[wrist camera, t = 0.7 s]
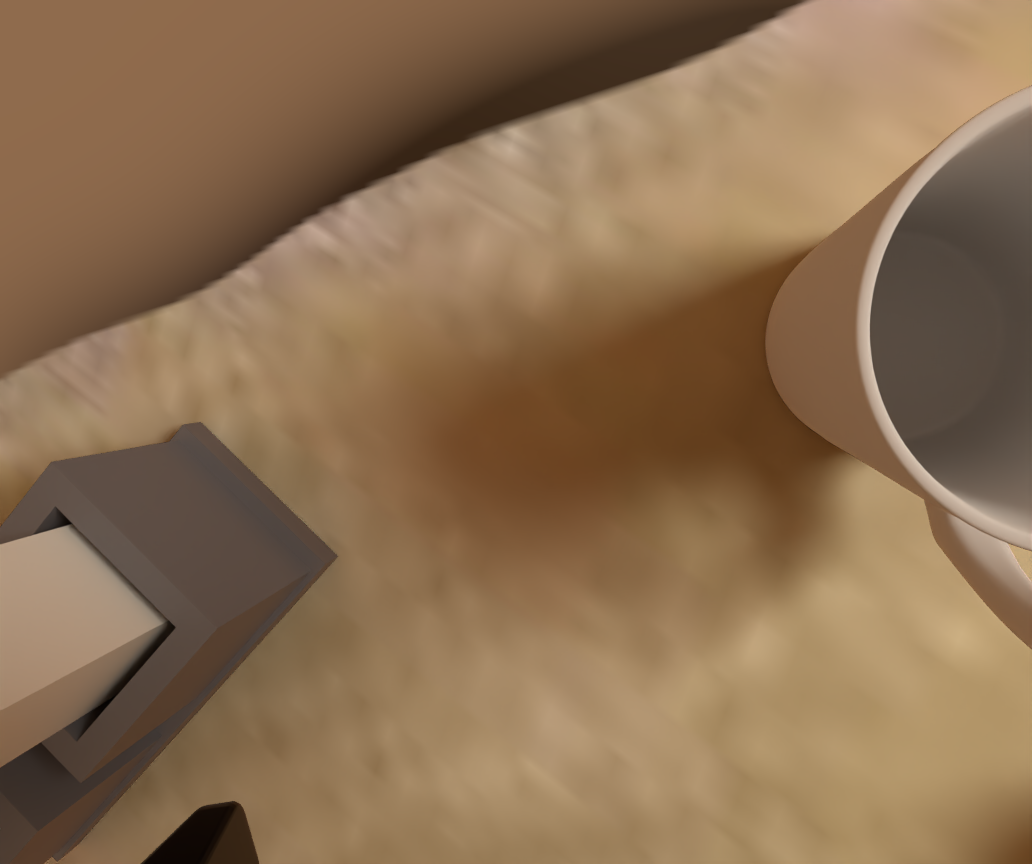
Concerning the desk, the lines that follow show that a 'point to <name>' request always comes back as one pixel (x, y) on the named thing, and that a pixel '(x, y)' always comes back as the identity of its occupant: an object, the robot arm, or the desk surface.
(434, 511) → the desk surface
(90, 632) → the beige block
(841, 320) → the mug
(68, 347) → the desk surface
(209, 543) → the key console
